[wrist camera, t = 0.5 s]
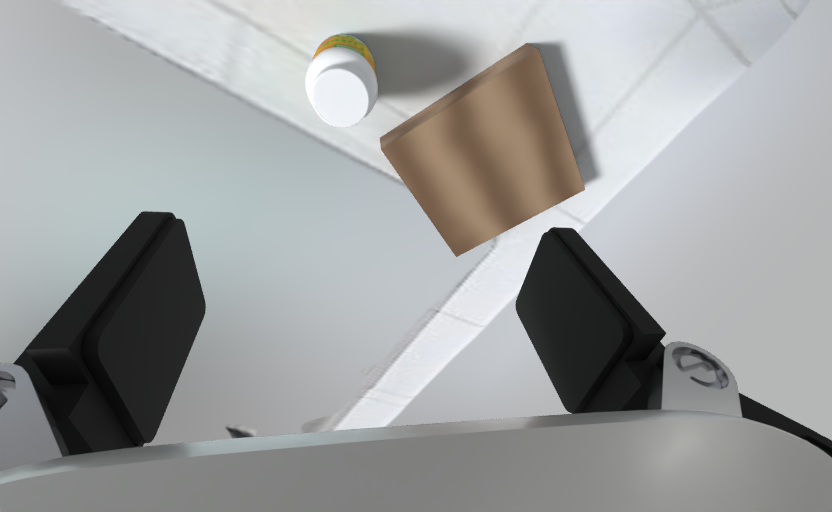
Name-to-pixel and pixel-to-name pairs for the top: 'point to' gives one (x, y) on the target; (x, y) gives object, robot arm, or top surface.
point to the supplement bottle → (342, 81)
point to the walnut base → (487, 153)
